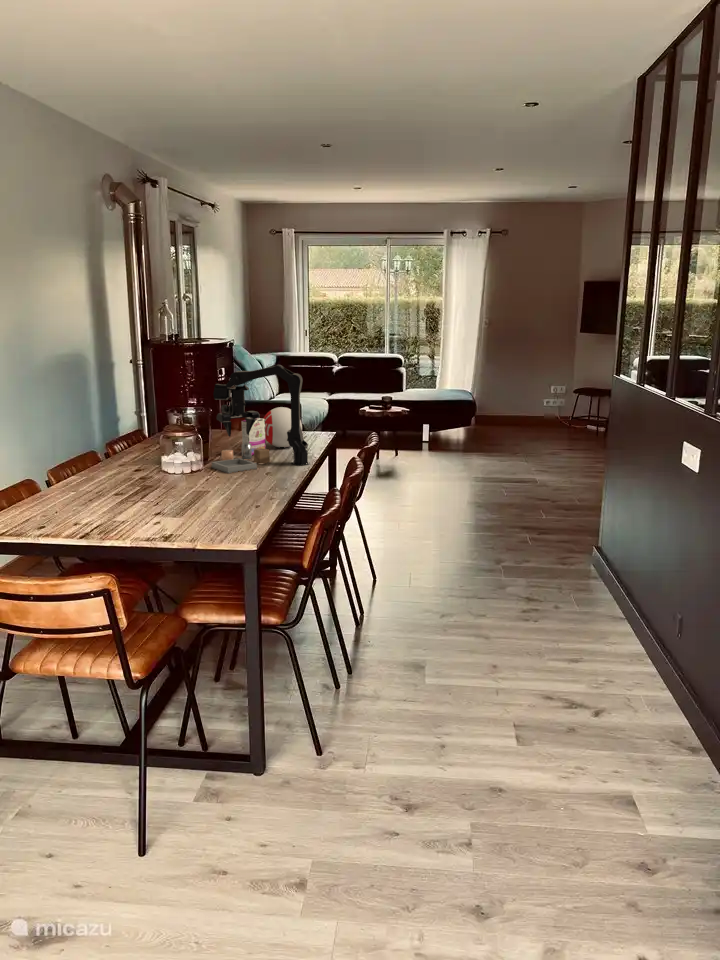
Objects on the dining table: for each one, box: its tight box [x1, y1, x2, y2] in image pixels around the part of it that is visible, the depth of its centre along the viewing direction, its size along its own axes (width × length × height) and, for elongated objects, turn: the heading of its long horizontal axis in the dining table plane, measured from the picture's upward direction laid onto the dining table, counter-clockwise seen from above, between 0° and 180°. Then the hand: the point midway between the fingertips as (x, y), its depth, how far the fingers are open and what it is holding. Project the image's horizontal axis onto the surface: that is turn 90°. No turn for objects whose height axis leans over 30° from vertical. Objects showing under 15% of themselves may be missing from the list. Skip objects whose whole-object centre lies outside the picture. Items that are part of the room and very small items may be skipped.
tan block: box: [221, 449, 235, 461], centre depth 331 cm, size 5×5×5 cm
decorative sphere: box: [263, 406, 303, 448], centre depth 365 cm, size 20×20×20 cm
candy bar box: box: [241, 417, 267, 456], centre depth 348 cm, size 11×5×16 cm, turn 143°
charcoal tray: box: [211, 457, 258, 474], centre depth 318 cm, size 14×14×2 cm
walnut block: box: [253, 448, 271, 464], centre depth 330 cm, size 5×5×6 cm
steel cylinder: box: [241, 443, 253, 460], centre depth 337 cm, size 4×4×7 cm
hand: (238, 435), depth 328 cm, fingers open, 9 cm apart
